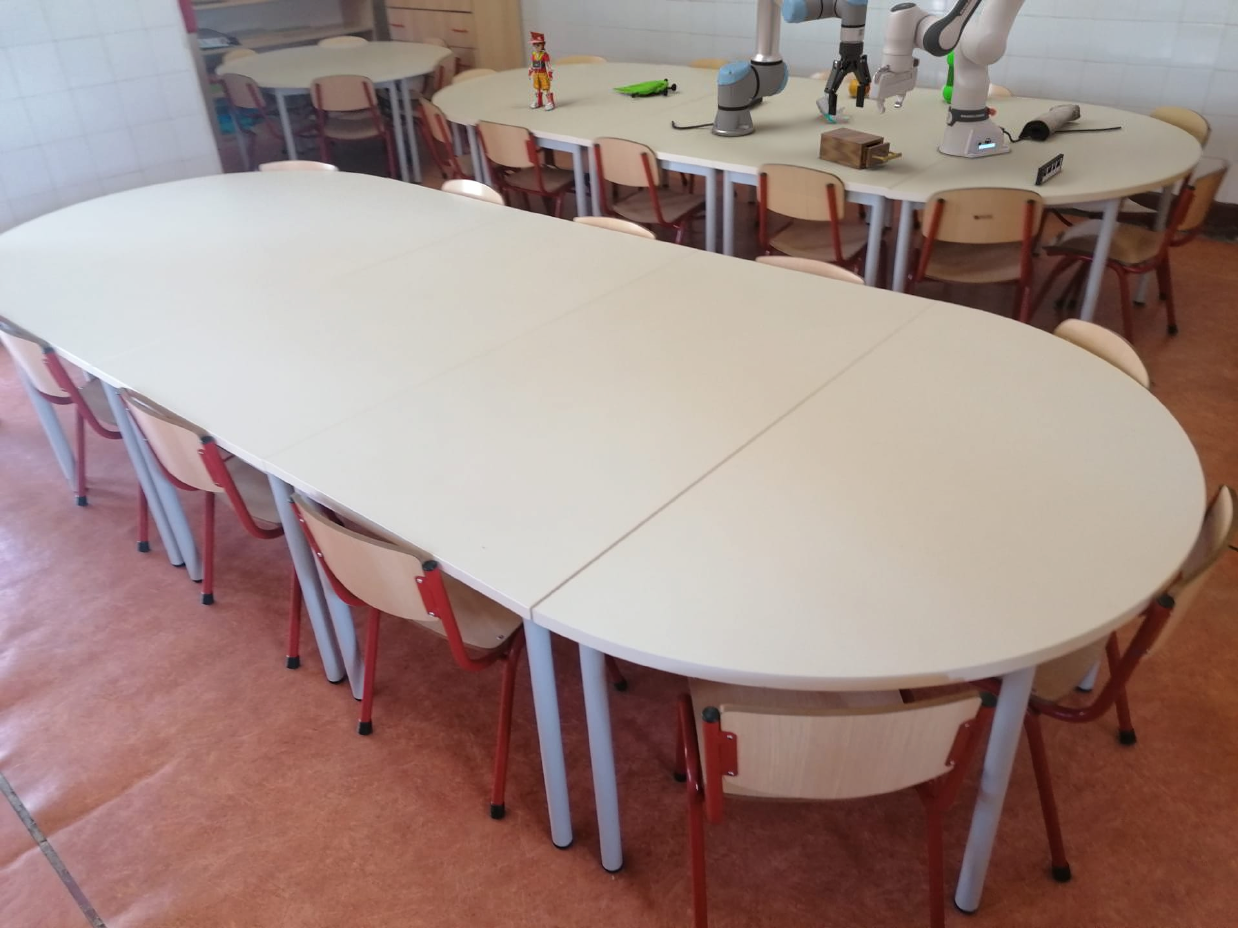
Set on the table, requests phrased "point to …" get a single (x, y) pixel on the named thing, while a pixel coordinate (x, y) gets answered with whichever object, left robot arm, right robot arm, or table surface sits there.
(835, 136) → the wooden box
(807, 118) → the table surface
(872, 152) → the drawer
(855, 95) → the fruit
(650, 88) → the toy
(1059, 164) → the midi keyboard
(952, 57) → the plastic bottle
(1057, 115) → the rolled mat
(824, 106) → the anatomical model
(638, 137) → the table surface
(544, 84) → the toy
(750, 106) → the disk drive
